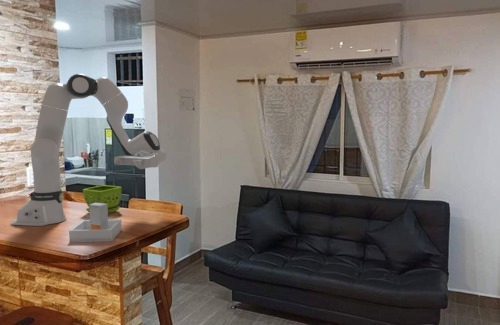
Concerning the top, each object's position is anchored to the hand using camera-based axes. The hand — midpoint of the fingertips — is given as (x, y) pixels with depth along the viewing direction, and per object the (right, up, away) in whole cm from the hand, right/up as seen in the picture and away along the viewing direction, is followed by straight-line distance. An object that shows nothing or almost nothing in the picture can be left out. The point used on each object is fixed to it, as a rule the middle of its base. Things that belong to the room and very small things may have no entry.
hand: (124, 162), depth 178 cm
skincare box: (-6, -29, -15) cm, 33 cm away
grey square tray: (-6, -30, -15) cm, 34 cm away
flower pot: (-18, -26, +25) cm, 40 cm away
